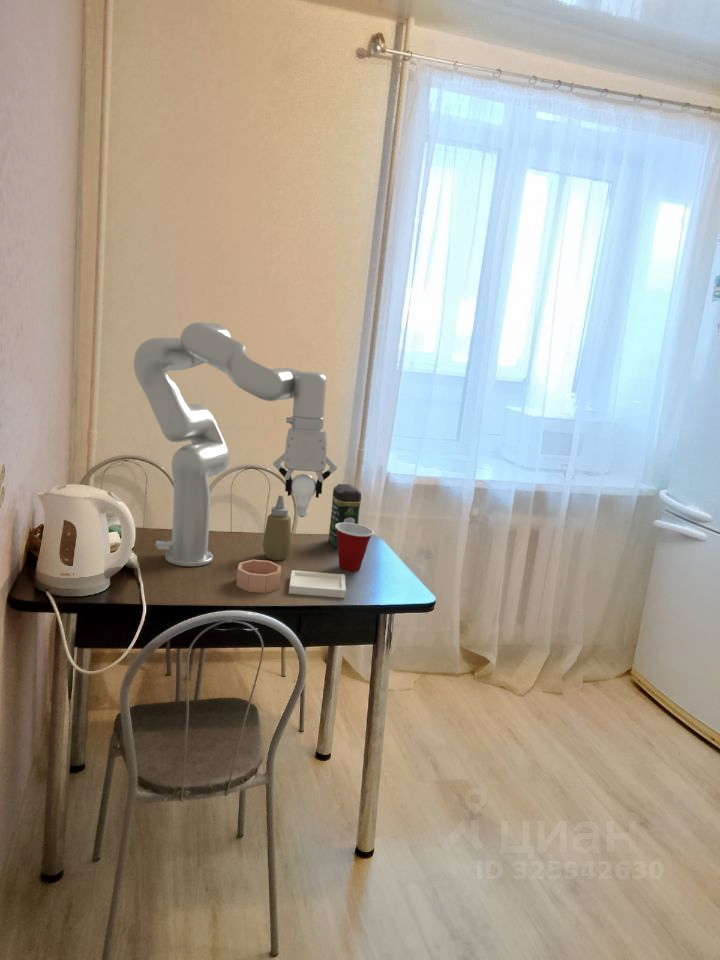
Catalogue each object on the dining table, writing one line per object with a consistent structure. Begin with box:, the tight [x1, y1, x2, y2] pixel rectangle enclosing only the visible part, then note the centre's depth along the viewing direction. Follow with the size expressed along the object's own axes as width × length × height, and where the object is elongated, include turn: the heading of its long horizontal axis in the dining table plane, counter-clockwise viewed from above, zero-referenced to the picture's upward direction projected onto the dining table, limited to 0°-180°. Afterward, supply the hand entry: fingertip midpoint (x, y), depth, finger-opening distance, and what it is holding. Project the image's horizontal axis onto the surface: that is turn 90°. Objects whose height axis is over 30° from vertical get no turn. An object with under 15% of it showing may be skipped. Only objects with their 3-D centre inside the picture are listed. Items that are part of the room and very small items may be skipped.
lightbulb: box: [291, 472, 317, 518], centre depth 179 cm, size 6×6×11 cm
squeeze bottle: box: [262, 494, 292, 561], centre depth 202 cm, size 8×8×18 cm
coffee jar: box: [328, 483, 362, 549], centre depth 219 cm, size 10×8×19 cm
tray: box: [288, 569, 347, 599], centre depth 185 cm, size 14×11×2 cm
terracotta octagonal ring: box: [236, 559, 282, 594], centre depth 183 cm, size 11×11×4 cm
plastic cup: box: [335, 522, 375, 573], centre depth 200 cm, size 11×11×12 cm
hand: (303, 494), depth 179 cm, fingers closed on lightbulb, 6 cm apart
